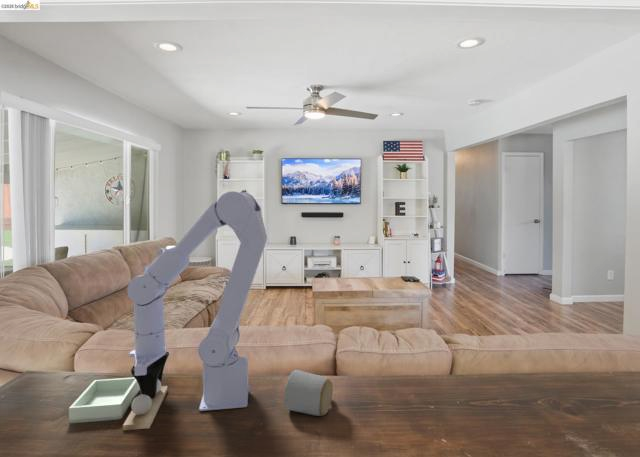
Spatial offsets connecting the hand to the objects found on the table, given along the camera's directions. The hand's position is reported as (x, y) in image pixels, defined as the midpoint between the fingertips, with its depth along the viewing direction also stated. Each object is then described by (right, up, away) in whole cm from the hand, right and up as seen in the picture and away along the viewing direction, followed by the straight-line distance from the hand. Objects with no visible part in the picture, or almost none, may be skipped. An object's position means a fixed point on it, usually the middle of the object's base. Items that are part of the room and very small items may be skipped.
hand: (152, 392), depth 80 cm
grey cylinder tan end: (+34, -2, -3) cm, 34 cm away
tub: (-8, -2, -2) cm, 9 cm away
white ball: (0, +1, 0) cm, 1 cm away
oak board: (0, -2, -3) cm, 4 cm away
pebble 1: (+1, +1, -7) cm, 7 cm away
